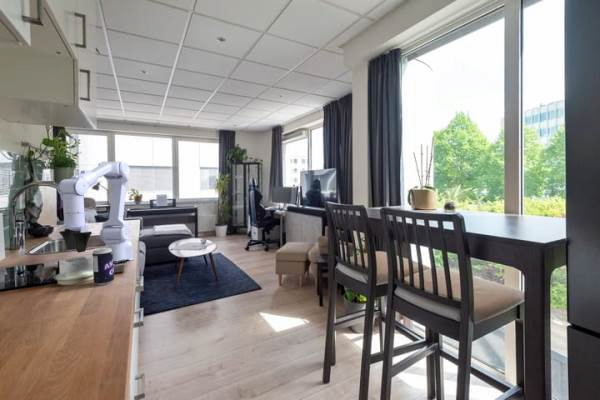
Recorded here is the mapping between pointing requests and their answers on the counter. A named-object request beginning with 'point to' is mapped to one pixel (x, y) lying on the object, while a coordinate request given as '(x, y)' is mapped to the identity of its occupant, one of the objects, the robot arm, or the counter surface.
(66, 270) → the housing
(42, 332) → the counter surface
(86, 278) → the stand
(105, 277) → the beverage can
